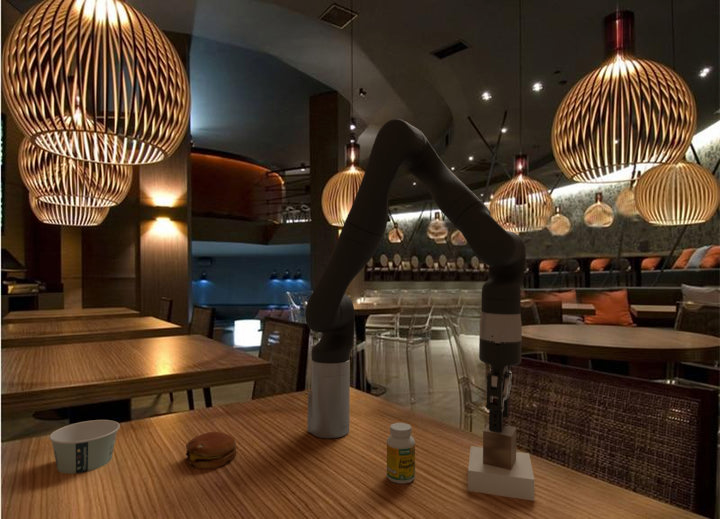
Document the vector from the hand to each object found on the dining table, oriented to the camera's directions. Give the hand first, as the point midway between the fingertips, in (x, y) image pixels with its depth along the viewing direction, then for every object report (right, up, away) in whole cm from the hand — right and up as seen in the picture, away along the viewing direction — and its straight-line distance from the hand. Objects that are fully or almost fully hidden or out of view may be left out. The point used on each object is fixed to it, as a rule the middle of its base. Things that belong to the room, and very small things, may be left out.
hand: (498, 423), depth 81 cm
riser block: (0, -11, 0) cm, 11 cm away
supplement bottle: (-18, -11, +1) cm, 21 cm away
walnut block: (0, -7, 0) cm, 7 cm away
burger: (-56, -11, +8) cm, 58 cm away
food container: (-81, -10, +6) cm, 82 cm away
